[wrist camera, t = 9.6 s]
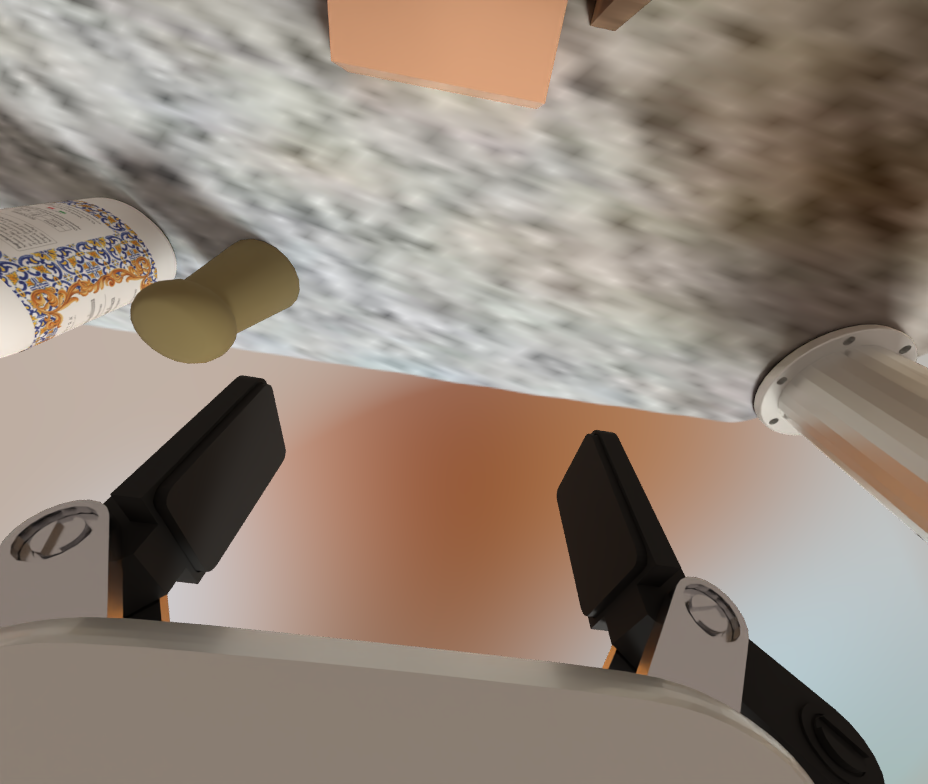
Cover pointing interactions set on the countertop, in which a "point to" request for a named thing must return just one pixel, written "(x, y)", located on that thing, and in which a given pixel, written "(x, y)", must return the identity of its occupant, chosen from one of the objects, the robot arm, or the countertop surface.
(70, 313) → the bath foam
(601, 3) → the shelf
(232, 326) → the cork
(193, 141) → the countertop surface
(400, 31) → the tile
